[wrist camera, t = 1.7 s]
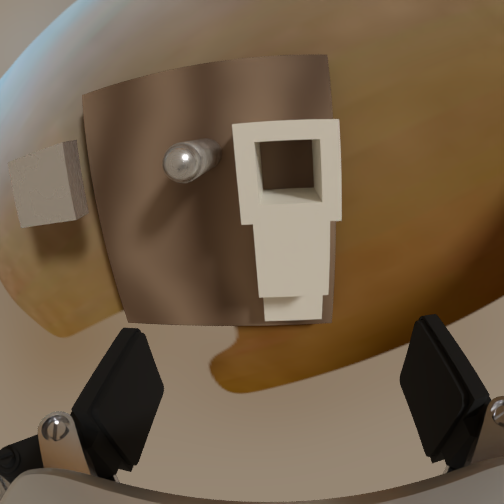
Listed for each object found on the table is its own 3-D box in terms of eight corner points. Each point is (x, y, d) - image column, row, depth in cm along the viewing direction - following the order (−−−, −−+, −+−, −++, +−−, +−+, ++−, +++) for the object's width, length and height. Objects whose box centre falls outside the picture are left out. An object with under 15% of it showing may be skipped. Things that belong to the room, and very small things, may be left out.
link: (241, 125, 17) (231, 124, 14) (326, 121, 17) (339, 119, 13) (258, 309, 22) (253, 343, 19) (327, 306, 22) (334, 340, 18)
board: (323, 59, 16) (327, 54, 15) (329, 311, 24) (331, 322, 22) (92, 96, 18) (82, 95, 17) (134, 313, 26) (128, 322, 24)
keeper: (107, 135, 20) (62, 142, 15) (116, 198, 22) (76, 220, 16) (52, 151, 20) (7, 162, 15) (62, 206, 22) (21, 228, 17)
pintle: (220, 136, 18) (194, 140, 12) (223, 167, 19) (199, 184, 13) (189, 140, 18) (152, 146, 13) (192, 170, 19) (158, 189, 13)
